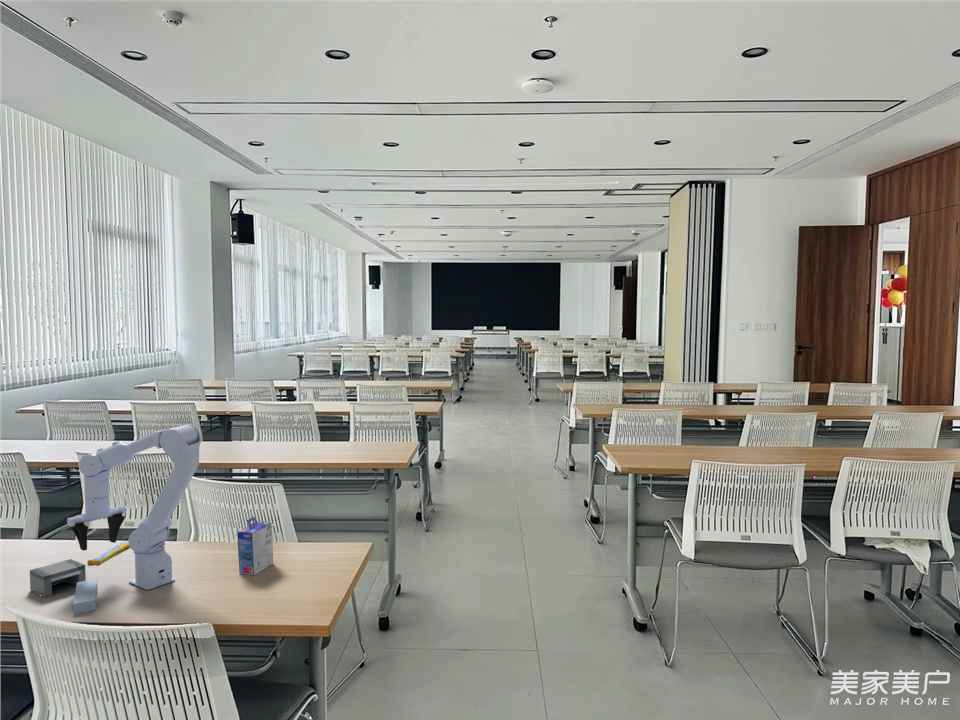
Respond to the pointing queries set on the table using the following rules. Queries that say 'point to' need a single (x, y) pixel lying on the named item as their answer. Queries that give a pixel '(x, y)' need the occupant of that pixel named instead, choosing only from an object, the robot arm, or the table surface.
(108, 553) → the candy bar
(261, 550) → the ink cartridge box
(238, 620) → the table surface
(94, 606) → the pale blue rectangular block
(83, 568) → the gray block
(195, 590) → the table surface
